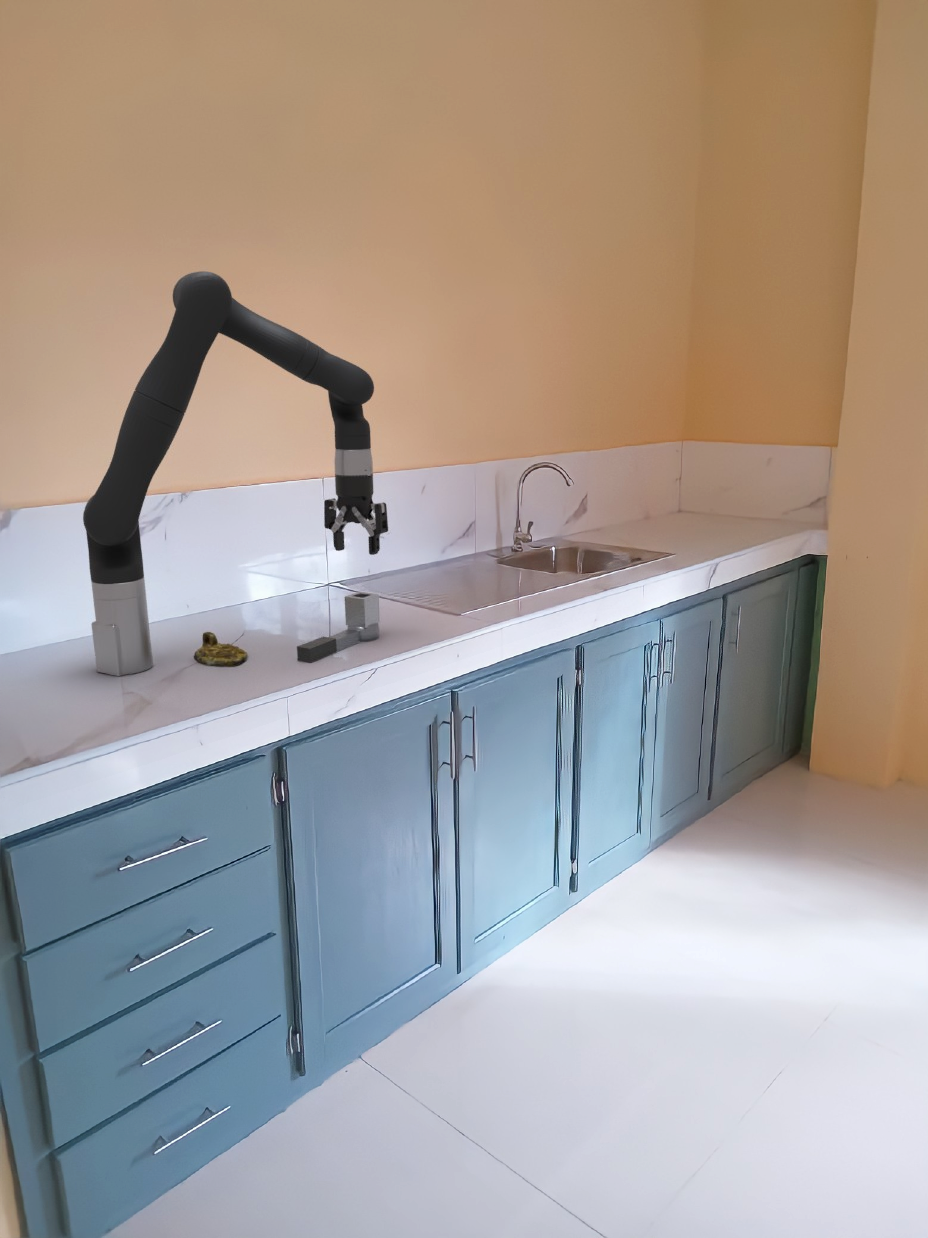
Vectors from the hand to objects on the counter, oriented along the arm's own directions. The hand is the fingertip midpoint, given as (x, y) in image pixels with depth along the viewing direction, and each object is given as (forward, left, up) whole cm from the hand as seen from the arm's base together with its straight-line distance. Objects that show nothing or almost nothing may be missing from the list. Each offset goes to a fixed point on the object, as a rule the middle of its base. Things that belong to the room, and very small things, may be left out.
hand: (356, 552), depth 191 cm
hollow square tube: (0, -1, -15) cm, 15 cm away
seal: (-24, +16, -19) cm, 34 cm away
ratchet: (-7, -1, -18) cm, 20 cm away
